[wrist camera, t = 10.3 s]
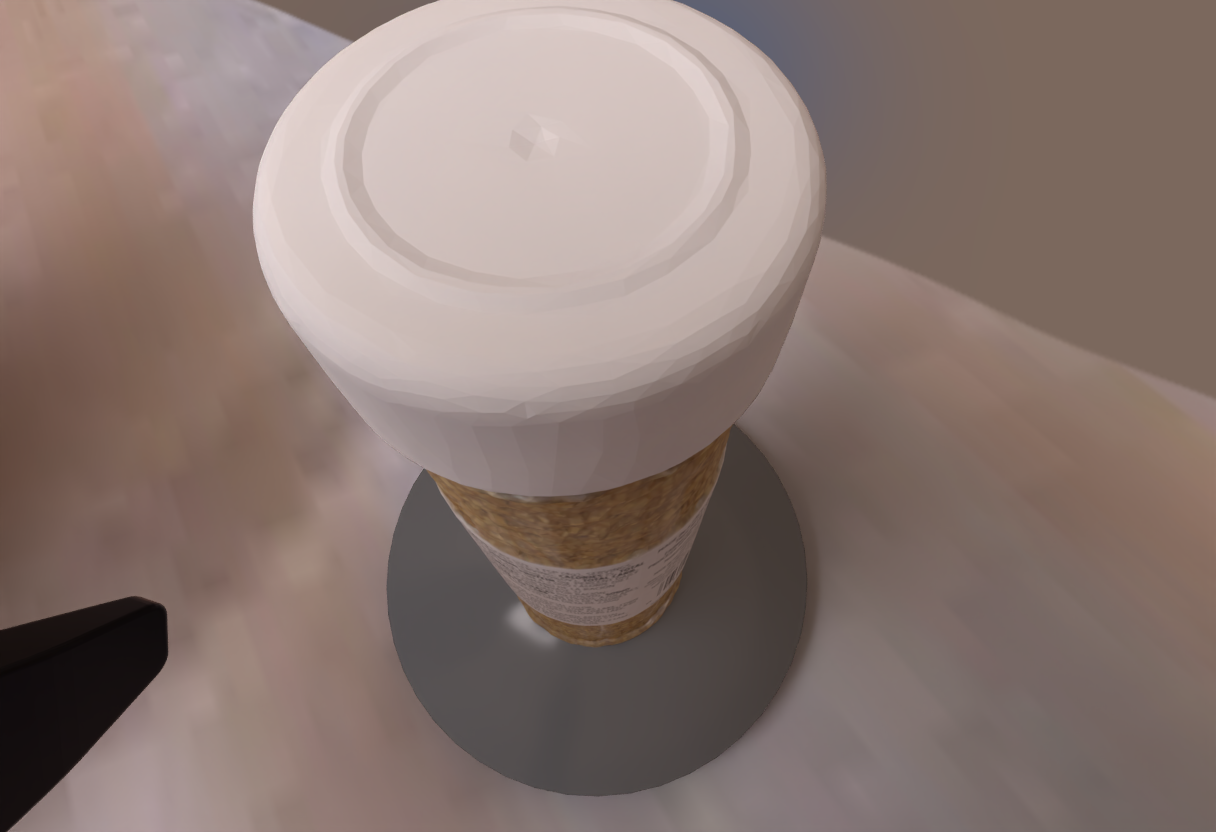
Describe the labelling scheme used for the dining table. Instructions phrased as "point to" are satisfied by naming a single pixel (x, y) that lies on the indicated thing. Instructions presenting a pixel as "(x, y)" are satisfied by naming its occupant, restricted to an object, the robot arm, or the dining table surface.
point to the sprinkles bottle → (550, 272)
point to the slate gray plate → (608, 675)
